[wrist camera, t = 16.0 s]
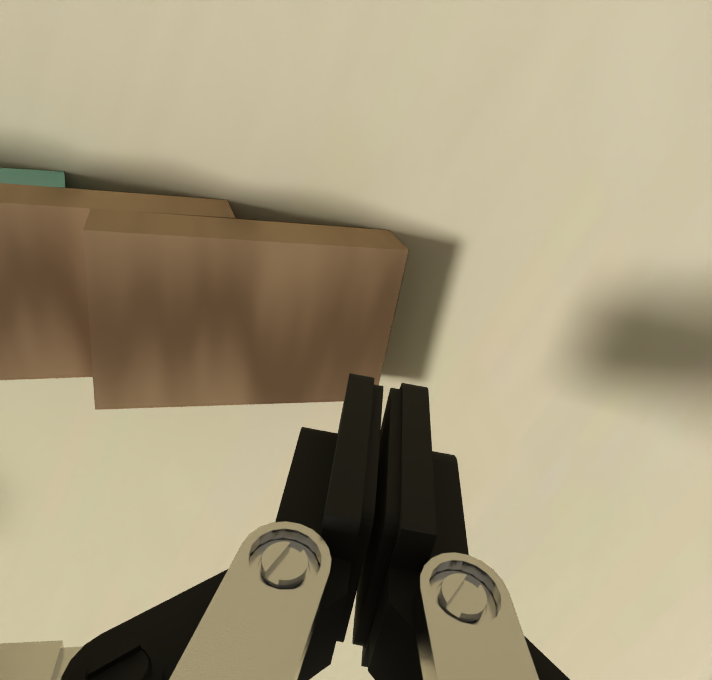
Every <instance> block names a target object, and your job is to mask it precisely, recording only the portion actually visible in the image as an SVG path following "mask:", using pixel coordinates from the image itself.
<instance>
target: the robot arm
mask: <svg viewBox="0 0 712 680" xmlns="http://www.w3.org/2000/svg"><path fill="white" fill-rule="evenodd" d="M382 399H383V386H379V385H374V378H373V377H368V376H363V375H357V374H352V373H349V378H348V383H347V388H346V393H345V398H344V404H343V409H342V414H341V419H340V425H339V430H338V434H337V433H331V432H326V431H321V430H315V429H310V428H305V427H302V428H301V431H300V435H299V438H298V442H297V445H296V449H295V453H294V456H293V460H292V464H291V467H290V471H289V474H288V478H287V482H286V485H285V489H284V493H283V496H282V500H281V504H280V507H279V511H278V514H277V518H276V522H273V523H270V524H267V525H264V526H261V527H259V528H258V529H256V530H255V531H253V532H252V533H250V534H249V535H248V537H247V538H246V539H245V540H244V542H243V543H242V545H241V546H240V548H239V550H238V552H237V554H236V556H235V558H234V560H233V561H232V563H231V565H230V567H229V569H227V570H225V571H223V572H221V573H219V574H217V575H216V576H214V577H212V578H210V579H208V580H206V581H204V582H202V583H200V584H198V585H196V586H194V587H192V588H190V589H188V590H186V591H184V592H182V593H180V594H178V595H177V596H175V597H173V598H171V599H169V600H167V601H165V602H163V603H161V604H159V605H157V606H155V607H153V608H151V609H149V610H147V611H145V612H143V613H141V614H139V615H138V616H136V617H134V618H132V619H130V620H128V621H126V622H124V623H122V624H120V625H118V626H116V627H114V628H112V629H110V630H108V631H106V632H104V633H102V634H100V635H99V636H97V637H96V638H94V639H93V640H91V641H90V642H88V643H87V644H85V645H84V646H83V647H68V648H64V647H63V641H44V642H23V643H3V644H0V680H309V679H311V678H312V677H313V676H315V675H316V674H317V673H319V672H320V671H322V670H323V669H324V668H326V667H327V666H328V665H330V664H331V660H332V656H333V652H334V648H335V644H336V641H339V642H344V639H345V635H346V631H347V627H348V623H349V619H350V615H351V611H352V607H353V603H354V599H355V596H356V606H355V617H354V628H353V644H355V645H361V646H363V651H362V665H361V666H365V667H368V671H369V673H370V674H371V675H372V677H373V678H374V679H375V680H570V679H569V678H568V677H567V676H566V675H565V674H564V673H563V672H561V671H560V670H559V669H558V668H557V667H556V666H555V665H554V664H553V663H552V662H551V661H550V660H549V659H548V658H547V657H546V656H545V655H544V654H543V653H542V652H541V651H540V650H538V649H537V648H536V647H535V646H534V645H533V644H532V643H531V642H530V641H529V640H528V639H527V638H526V637H525V636H524V634H523V632H522V629H521V626H520V623H519V620H518V617H517V614H516V611H515V608H514V605H513V603H512V600H511V597H510V594H509V592H508V590H507V588H506V586H505V584H504V582H503V580H502V579H501V578H500V577H499V576H498V574H497V573H496V572H495V571H494V570H493V569H492V568H491V567H489V566H488V565H486V564H485V563H484V562H482V561H481V560H478V559H476V558H474V557H472V556H469V554H468V546H467V538H466V529H465V521H464V513H463V505H462V496H461V488H460V480H459V471H458V463H457V459H456V457H455V455H450V454H444V453H439V452H434V451H432V443H431V426H430V410H429V394H428V388H427V387H421V386H416V385H411V384H405V383H402V384H401V387H400V389H395V388H391V389H390V392H389V396H388V401H387V405H386V409H385V413H384V417H383V422H382V426H381V414H382ZM380 428H381V430H380ZM356 592H357V595H356Z"/></svg>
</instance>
